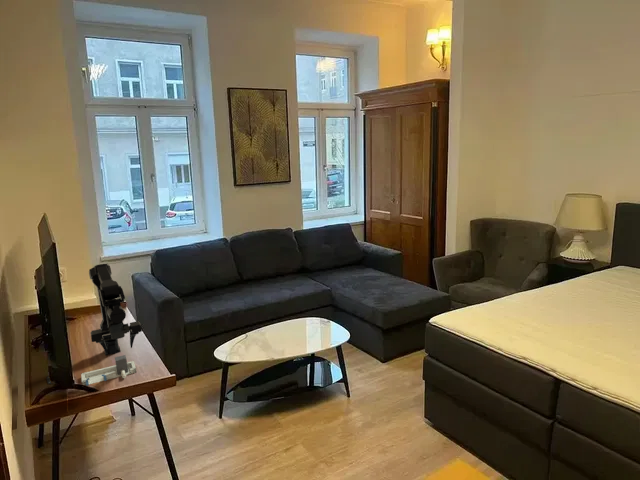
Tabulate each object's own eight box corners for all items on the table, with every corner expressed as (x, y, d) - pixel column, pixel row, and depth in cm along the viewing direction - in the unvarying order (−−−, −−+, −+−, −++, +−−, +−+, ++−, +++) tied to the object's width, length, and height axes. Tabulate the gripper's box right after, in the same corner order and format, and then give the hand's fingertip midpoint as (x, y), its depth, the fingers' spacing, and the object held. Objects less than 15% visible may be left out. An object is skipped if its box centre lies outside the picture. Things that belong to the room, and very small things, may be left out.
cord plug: (116, 370, 192) (114, 357, 190) (127, 368, 194) (125, 354, 192) (119, 380, 183) (117, 367, 182) (129, 378, 185) (127, 364, 184)
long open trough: (81, 378, 188) (80, 371, 187) (134, 365, 197) (133, 358, 196) (82, 387, 180) (81, 380, 180) (136, 373, 190) (135, 366, 189)
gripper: (89, 327, 174) (95, 364, 178) (141, 316, 183) (146, 352, 186) (88, 317, 184) (93, 353, 187) (137, 307, 192) (142, 342, 196)
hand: (119, 350), depth 189 cm, fingers open, 9 cm apart
